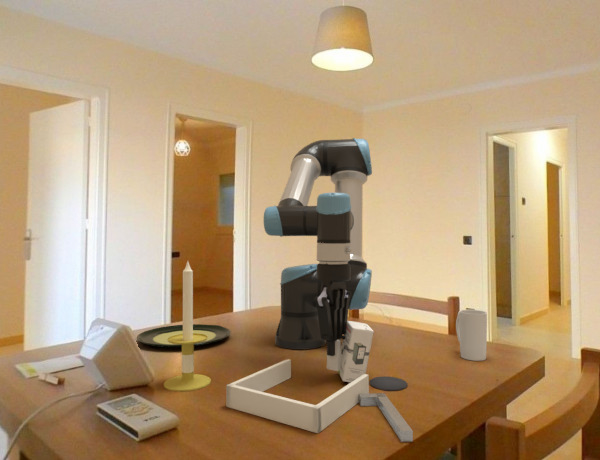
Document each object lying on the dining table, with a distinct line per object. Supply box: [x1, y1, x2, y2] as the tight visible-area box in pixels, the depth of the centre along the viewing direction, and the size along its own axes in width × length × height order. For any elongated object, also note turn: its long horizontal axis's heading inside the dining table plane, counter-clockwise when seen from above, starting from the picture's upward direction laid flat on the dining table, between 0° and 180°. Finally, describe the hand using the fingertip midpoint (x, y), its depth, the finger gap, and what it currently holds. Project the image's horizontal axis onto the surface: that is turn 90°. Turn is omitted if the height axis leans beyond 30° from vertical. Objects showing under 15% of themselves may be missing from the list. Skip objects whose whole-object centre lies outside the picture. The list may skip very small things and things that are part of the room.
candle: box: [163, 261, 212, 392], centre depth 93 cm, size 10×10×27 cm
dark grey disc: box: [369, 376, 408, 392], centre depth 92 cm, size 8×8×1 cm
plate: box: [136, 323, 232, 348], centre depth 132 cm, size 28×28×2 cm
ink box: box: [337, 320, 374, 383], centre depth 96 cm, size 9×5×12 cm, turn 3°
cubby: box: [225, 358, 370, 434], centre depth 83 cm, size 20×20×4 cm
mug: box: [455, 309, 488, 362], centre depth 114 cm, size 10×7×12 cm, turn 17°
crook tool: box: [358, 392, 414, 443], centre depth 75 cm, size 5×16×2 cm, turn 5°
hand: (333, 369), depth 95 cm, fingers closed
